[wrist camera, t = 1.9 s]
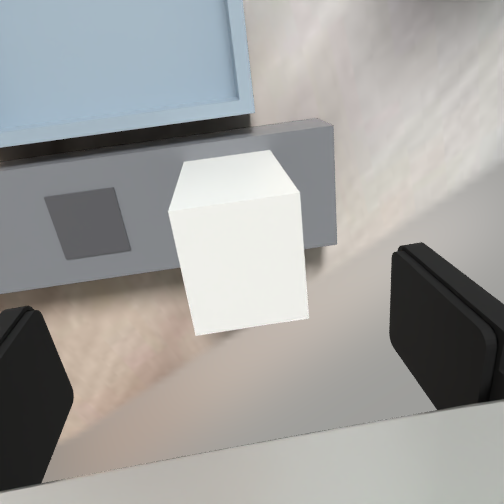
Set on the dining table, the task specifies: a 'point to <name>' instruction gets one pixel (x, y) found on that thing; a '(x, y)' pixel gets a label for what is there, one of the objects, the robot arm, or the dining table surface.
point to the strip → (139, 202)
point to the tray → (119, 66)
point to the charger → (239, 242)
